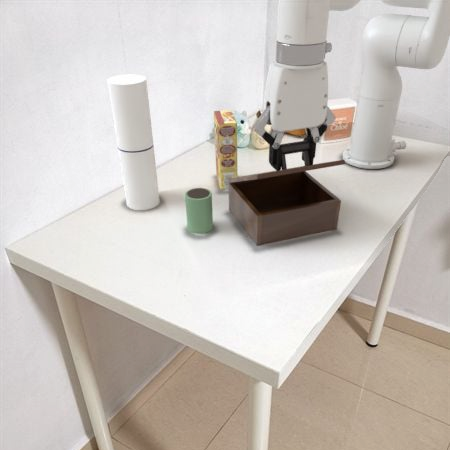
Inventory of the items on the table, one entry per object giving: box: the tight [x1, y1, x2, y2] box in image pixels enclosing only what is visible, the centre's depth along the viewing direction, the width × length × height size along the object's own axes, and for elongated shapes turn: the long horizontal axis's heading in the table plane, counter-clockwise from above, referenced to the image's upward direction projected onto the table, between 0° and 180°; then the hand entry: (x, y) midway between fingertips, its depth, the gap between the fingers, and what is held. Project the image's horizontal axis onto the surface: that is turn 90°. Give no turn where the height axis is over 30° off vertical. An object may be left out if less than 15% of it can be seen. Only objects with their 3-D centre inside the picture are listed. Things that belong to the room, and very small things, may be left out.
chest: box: [228, 171, 342, 247], centre depth 93 cm, size 15×17×7 cm
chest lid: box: [228, 140, 346, 183], centre depth 88 cm, size 16×17×5 cm
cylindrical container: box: [106, 73, 161, 211], centre depth 95 cm, size 7×7×25 cm
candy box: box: [213, 109, 238, 190], centre depth 104 cm, size 9×4×15 cm, turn 8°
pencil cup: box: [184, 187, 214, 235], centre depth 90 cm, size 5×5×8 cm
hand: (291, 164), depth 84 cm, fingers closed on chest lid, 5 cm apart
